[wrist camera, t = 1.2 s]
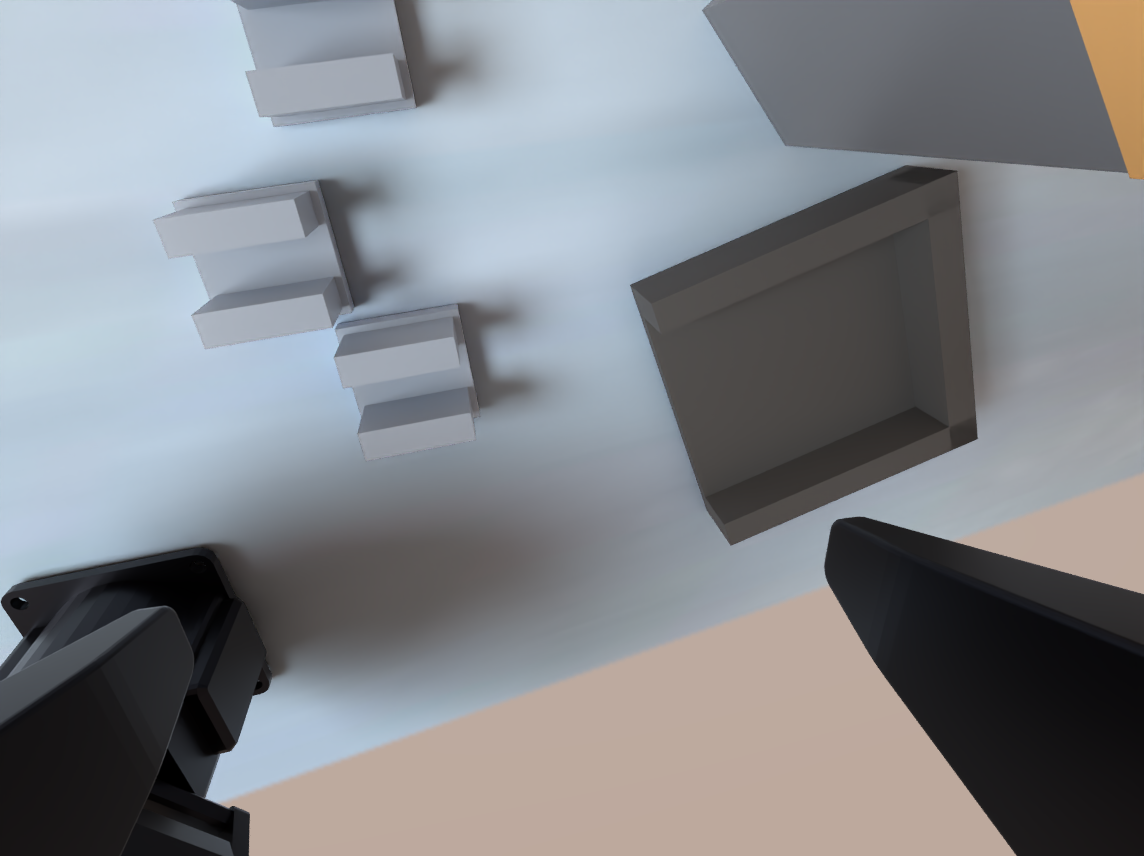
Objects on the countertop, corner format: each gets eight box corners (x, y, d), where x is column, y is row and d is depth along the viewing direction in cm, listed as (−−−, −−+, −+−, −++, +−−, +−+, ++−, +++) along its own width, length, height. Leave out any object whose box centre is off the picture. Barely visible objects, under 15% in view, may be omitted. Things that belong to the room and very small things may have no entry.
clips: (274, 447, 21) (253, 489, 18) (94, -27, 15) (31, -53, 13) (479, 409, 21) (483, 444, 19) (382, -57, 16) (372, -88, 13)
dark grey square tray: (707, 510, 25) (731, 545, 23) (630, 285, 20) (651, 303, 18) (933, 412, 25) (977, 439, 23) (905, 165, 20) (957, 170, 18)
